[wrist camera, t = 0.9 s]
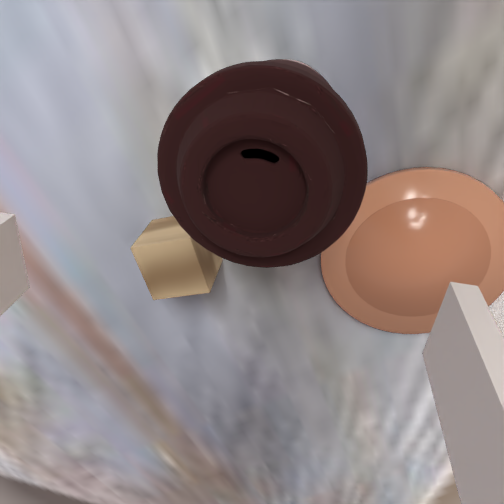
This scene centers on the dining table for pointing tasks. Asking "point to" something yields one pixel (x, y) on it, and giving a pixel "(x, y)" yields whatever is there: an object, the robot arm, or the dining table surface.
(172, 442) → the dining table surface
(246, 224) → the coffee cup
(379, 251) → the saucer
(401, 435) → the dining table surface
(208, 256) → the tan cube
